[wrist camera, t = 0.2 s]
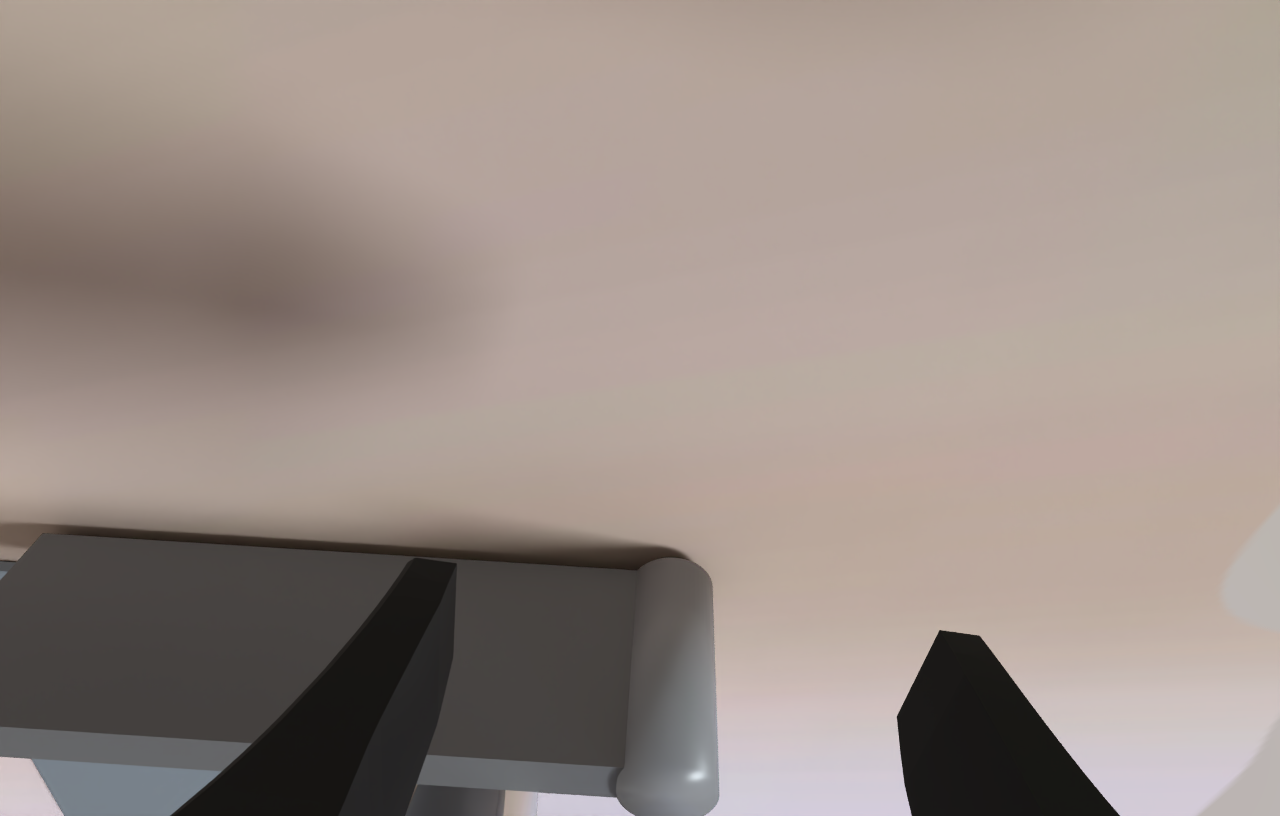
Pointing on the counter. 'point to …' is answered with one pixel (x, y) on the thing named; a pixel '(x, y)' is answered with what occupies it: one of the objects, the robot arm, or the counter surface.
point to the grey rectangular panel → (320, 627)
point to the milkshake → (470, 802)
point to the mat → (117, 783)
